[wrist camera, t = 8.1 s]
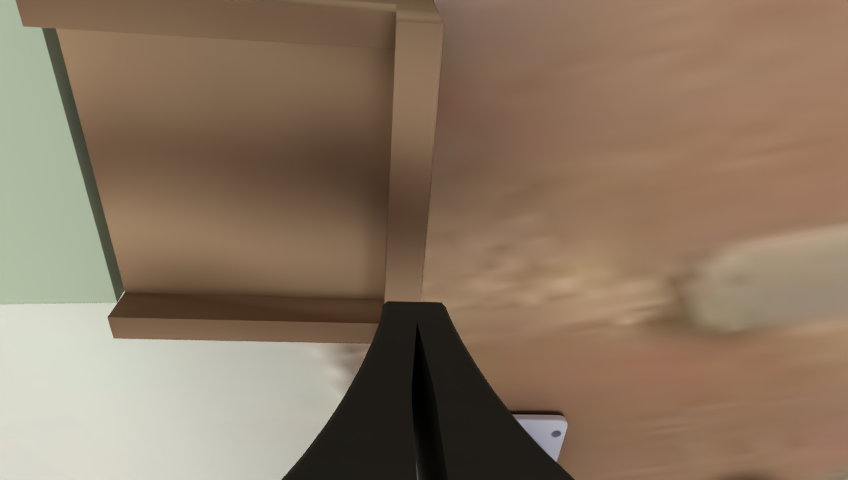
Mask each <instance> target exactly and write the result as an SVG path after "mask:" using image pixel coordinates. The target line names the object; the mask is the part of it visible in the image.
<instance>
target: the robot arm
mask: <svg viewBox="0 0 848 480" xmlns="http://www.w3.org/2000/svg"><path fill="white" fill-rule="evenodd" d="M566 430H567V421H566V419H565V417H563V416H561V415H512V414H511V413H510V411H509V410H508V409H507V408H506V406H505V405H504V404H503V402H502V401H501V400H500V398H499V397H498V396H497V394H496V393H495V392H494V390H493V389H492V387H491V386H490V385H489V383H488V382H487V380H486V379H485V377H484V376H483V374H482V373H481V371H480V370H479V368H478V367H477V365H476V364H475V362H474V360H473V359H472V357H471V356H470V354H469V352H468V351H467V349H466V347H465V346H464V344H463V342H462V340H461V338H460V336H459V335H458V333H457V331H456V329H455V327H454V325H453V323H452V321H451V319H450V317H449V314H448V312H447V310H446V307H445V306H444V305H443V304H442V303H439V302H402V301H387V302H386V303H385V304H383V306H382V313H381V318H380V321H379V325H378V328H377V331H376V333H375V336H374V339H373V341H372V343H371V346H370V348H369V350H368V352H367V354H366V357H365V359H364V361H363V363H362V365H361V367H360V369H359V371H358V373H357V375H356V376H355V378H354V380H353V382H352V384H351V386H350V387H349V389H348V391H347V393H346V394H345V396H344V398H343V399H342V401H341V403H340V404H339V406H338V407H337V409H336V410H335V412H334V413H333V415H332V416H331V418H330V419H329V421H328V422H327V424H326V425H325V427H324V428H323V429H322V431H321V432H320V433H319V435H318V436H317V437H316V439H315V440H314V441H313V443H312V444H311V445H310V447H309V448H308V449H307V451H306V452H305V453H304V454H303V456H302V457H301V458H300V459H299V460H298V462H297V463H296V464H295V465H294V466H293V467H292V469H291V470H290V471H289V472H288V473H287V474H286V475H285V476H284V477H283V479H282V480H574V479H573V478H572V477H571V476H570V475H569V474H568V473H567V472H566V471H565V470H564V469H563V468H562V467H561V466H560V465H559V464H558V463H557V460H558V456H559V453H560V450H561V446H562V443H563V440H564V436H565V433H566Z"/></svg>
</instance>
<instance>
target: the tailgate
mask: <svg viewBox="0 0 848 480" xmlns="http://www.w3.org/2000/svg"><path fill="white" fill-rule="evenodd" d="M123 292H124V287H123V283H122V279H121V275H120V271H119V268H118V264H117V260H116V256H115V252H114V249H113V245H112V241H111V237H110V233H109V229H108V226H107V222H106V218H105V214H104V210H103V207H102V203H101V199H100V195H99V191H98V187H97V184H96V180H95V176H94V172H93V168H92V165H91V161H90V157H89V153H88V149H87V145H86V142H85V138H84V134H83V130H82V126H81V123H80V119H79V115H78V111H77V107H76V103H75V100H74V96H73V92H72V88H71V84H70V81H69V77H68V73H67V69H66V65H65V61H64V58H63V54H62V50H61V46H60V42H59V39H58V35H57V31H56V28H40V27H24V26H23V24H22V21H21V18H20V14H19V11H18V7H17V4H16V0H0V304H57V303H117V302H118V300H119V299H120V297H121V295H122V293H123Z"/></svg>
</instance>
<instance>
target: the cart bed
mask: <svg viewBox="0 0 848 480" xmlns="http://www.w3.org/2000/svg"><path fill="white" fill-rule="evenodd" d="M16 4H17V7H18V11H19V14H20V18H21V21H22V24H23V26H24V27H40V28H56V31H57V35H58V39H59V42H60V46H61V50H62V54H63V58H64V61H65V65H66V69H67V73H68V77H69V81H70V84H71V88H72V92H73V96H74V100H75V103H76V107H77V111H78V115H79V119H80V123H81V126H82V130H83V134H84V138H85V142H86V145H87V149H88V153H89V157H90V161H91V165H92V168H93V172H94V176H95V180H96V184H97V187H98V191H99V195H100V199H101V203H102V207H103V210H104V214H105V218H106V222H107V226H108V229H109V233H110V237H111V241H112V245H113V249H114V252H115V256H116V260H117V264H118V268H119V271H120V275H121V279H122V283H123V287H124V291H125V293H124V295H123V296H122V298H121V299H120V300H119V302H118V303H117V305H116V306H115V308H114V309H113V310H112V312H111V313H110V315H109V316H108V320H109V324H110V327H111V331H112V334H113V338H124V339H172V340H220V341H268V342H316V343H363V344H371V343H372V341H373V339H374V336H375V333H376V331H377V328H378V325H379V321H380V318H381V313H382V306H383V304H385V303H386V302H387V301H402V302H421V293H422V281H423V269H424V257H425V245H426V234H427V222H428V210H429V198H430V186H431V174H432V163H433V151H434V139H435V127H436V115H437V103H438V92H439V80H440V68H441V56H442V44H443V32H444V23H443V21H442V19H441V16H440V14H439V12H438V10H437V8H436V5H435V3H434V1H433V0H16Z"/></svg>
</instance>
